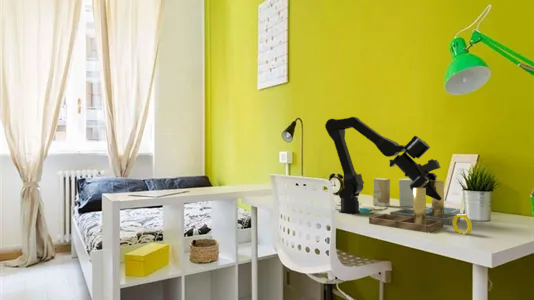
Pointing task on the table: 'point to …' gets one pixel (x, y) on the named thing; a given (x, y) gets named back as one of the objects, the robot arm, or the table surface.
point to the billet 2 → (436, 204)
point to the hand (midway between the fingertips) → (441, 199)
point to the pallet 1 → (405, 222)
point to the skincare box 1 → (381, 192)
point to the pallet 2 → (427, 215)
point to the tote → (447, 210)
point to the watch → (466, 221)
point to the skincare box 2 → (405, 193)
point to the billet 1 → (419, 205)
